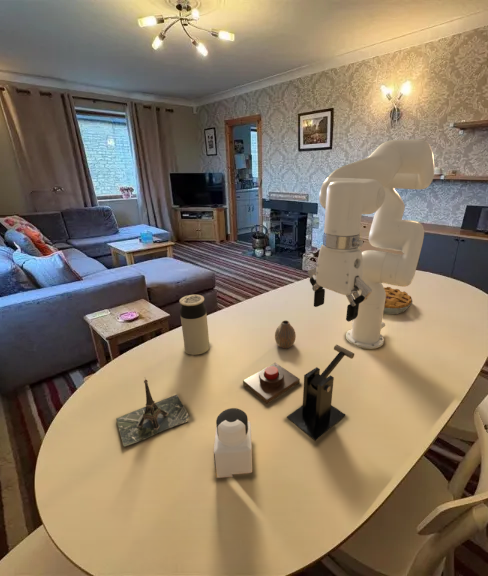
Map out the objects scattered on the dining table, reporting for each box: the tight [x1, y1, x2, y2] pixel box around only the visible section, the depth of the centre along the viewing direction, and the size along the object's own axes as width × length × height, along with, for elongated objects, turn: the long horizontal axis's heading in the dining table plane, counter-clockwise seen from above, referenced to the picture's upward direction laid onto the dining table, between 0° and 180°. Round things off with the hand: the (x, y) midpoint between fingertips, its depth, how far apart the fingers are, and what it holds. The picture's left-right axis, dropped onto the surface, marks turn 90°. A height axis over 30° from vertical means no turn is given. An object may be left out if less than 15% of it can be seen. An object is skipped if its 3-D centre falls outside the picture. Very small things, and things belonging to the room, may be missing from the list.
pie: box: [383, 286, 413, 315], centre depth 132 cm, size 22×22×5 cm
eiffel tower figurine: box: [116, 378, 191, 447], centre depth 71 cm, size 15×10×13 cm
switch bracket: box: [286, 366, 346, 442], centre depth 71 cm, size 11×9×13 cm
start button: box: [264, 365, 278, 379], centre depth 83 cm, size 4×4×2 cm
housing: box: [242, 362, 301, 404], centre depth 84 cm, size 12×10×4 cm
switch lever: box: [310, 344, 355, 390], centre depth 72 cm, size 12×5×2 cm, turn 131°
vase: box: [274, 320, 297, 349], centre depth 102 cm, size 7×7×9 cm
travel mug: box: [178, 294, 210, 356], centre depth 98 cm, size 8×8×18 cm
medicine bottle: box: [213, 407, 253, 479], centre depth 61 cm, size 7×7×12 cm
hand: (334, 312), depth 73 cm, fingers open, 9 cm apart
